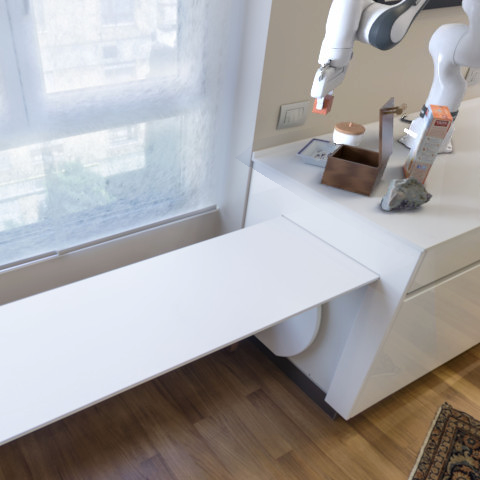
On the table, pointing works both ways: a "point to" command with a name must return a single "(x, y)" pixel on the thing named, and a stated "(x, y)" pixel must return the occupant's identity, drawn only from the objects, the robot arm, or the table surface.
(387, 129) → the lid
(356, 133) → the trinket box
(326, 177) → the chest
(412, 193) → the mineral rock
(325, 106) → the block
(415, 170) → the cracker box
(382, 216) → the table surface
